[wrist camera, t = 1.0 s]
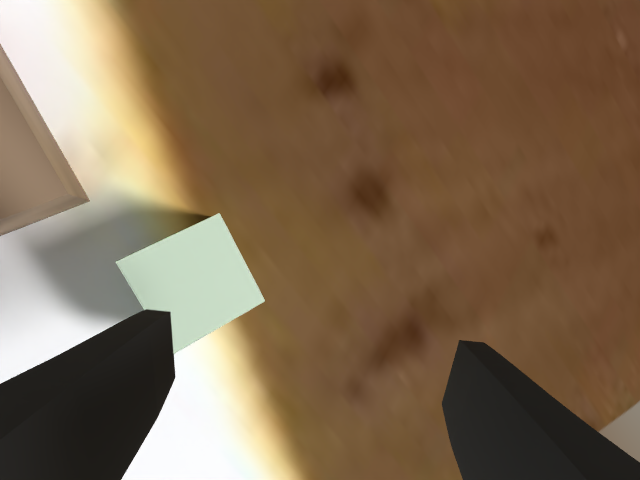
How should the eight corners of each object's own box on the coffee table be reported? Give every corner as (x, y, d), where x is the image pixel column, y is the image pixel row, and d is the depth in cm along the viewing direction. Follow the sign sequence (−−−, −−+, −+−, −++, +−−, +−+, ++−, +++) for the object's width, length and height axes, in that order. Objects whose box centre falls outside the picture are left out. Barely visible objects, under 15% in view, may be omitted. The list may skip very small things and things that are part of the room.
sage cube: (173, 328, 19) (171, 355, 15) (129, 254, 18) (115, 262, 14) (247, 286, 21) (265, 301, 16) (211, 216, 20) (219, 213, 15)
